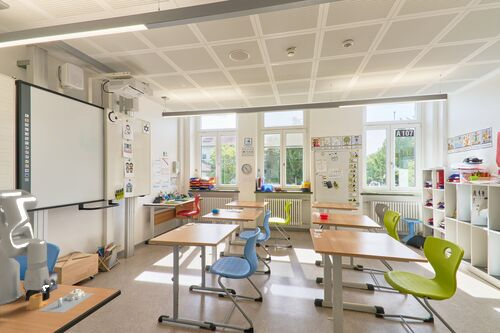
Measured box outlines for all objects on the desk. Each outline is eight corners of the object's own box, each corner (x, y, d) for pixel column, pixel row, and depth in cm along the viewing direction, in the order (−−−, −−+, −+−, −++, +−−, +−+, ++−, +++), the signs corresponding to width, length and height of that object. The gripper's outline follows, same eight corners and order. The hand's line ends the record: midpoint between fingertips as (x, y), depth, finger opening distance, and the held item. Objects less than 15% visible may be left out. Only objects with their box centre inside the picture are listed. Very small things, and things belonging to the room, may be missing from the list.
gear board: (38, 313, 115) (38, 302, 115) (72, 294, 132) (72, 284, 132) (63, 315, 112) (63, 304, 113) (94, 295, 130) (94, 286, 130)
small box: (38, 299, 128) (39, 279, 128) (29, 298, 129) (29, 278, 130) (58, 289, 138) (58, 271, 139) (49, 288, 140) (49, 270, 140)
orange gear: (21, 311, 116) (21, 299, 116) (38, 302, 124) (38, 291, 124) (35, 312, 115) (35, 300, 115) (51, 303, 123) (51, 292, 123)
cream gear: (63, 300, 124) (63, 294, 124) (75, 293, 131) (75, 287, 131) (75, 301, 123) (75, 295, 123) (87, 293, 130) (87, 288, 130)
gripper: (14, 268, 118) (15, 303, 117) (44, 268, 115) (44, 304, 114) (30, 262, 125) (31, 295, 124) (58, 262, 122) (59, 296, 122)
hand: (37, 299), depth 119 cm, fingers open, 9 cm apart
